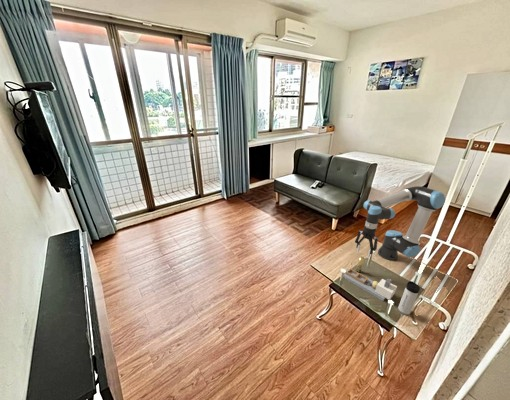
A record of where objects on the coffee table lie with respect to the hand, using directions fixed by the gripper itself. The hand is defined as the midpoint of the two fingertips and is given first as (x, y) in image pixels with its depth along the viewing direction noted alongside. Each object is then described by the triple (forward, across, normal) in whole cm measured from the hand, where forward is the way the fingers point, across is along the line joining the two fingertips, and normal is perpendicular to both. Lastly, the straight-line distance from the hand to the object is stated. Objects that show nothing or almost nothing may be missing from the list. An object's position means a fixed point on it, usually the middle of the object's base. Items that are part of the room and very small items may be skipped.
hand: (362, 254), depth 161 cm
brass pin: (+15, 0, 0) cm, 15 cm away
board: (+15, +10, -11) cm, 21 cm away
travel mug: (+15, +35, -15) cm, 41 cm away
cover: (+13, +22, -11) cm, 28 cm away
